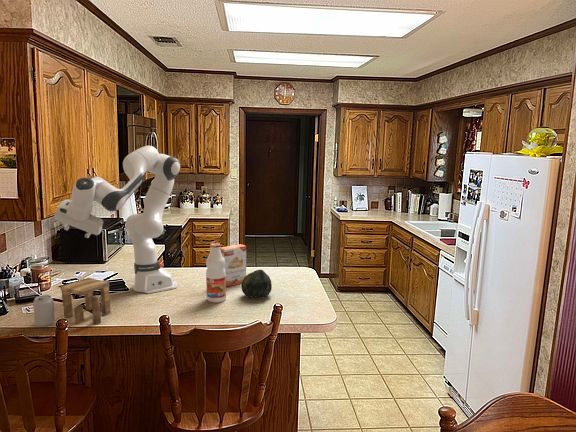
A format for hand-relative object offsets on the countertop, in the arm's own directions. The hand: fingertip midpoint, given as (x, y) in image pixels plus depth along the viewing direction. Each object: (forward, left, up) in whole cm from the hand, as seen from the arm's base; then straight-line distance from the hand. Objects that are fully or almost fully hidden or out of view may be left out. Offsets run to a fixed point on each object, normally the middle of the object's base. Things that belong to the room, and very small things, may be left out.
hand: (76, 233), depth 199 cm
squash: (-80, +16, -36) cm, 89 cm away
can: (+14, +14, -36) cm, 41 cm away
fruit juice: (-60, +13, -36) cm, 71 cm away
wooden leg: (-7, +18, -35) cm, 40 cm away
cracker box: (-74, -7, -36) cm, 83 cm away
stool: (-2, +11, -36) cm, 37 cm away
